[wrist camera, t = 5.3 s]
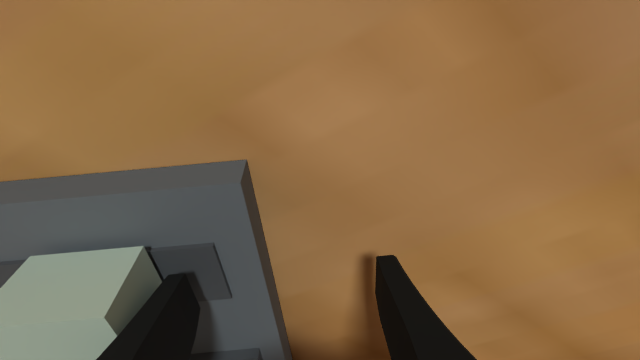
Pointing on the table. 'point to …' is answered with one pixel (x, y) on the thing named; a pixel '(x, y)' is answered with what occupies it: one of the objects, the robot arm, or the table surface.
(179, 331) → the robot arm
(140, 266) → the sage slider
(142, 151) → the table surface
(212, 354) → the control panel
